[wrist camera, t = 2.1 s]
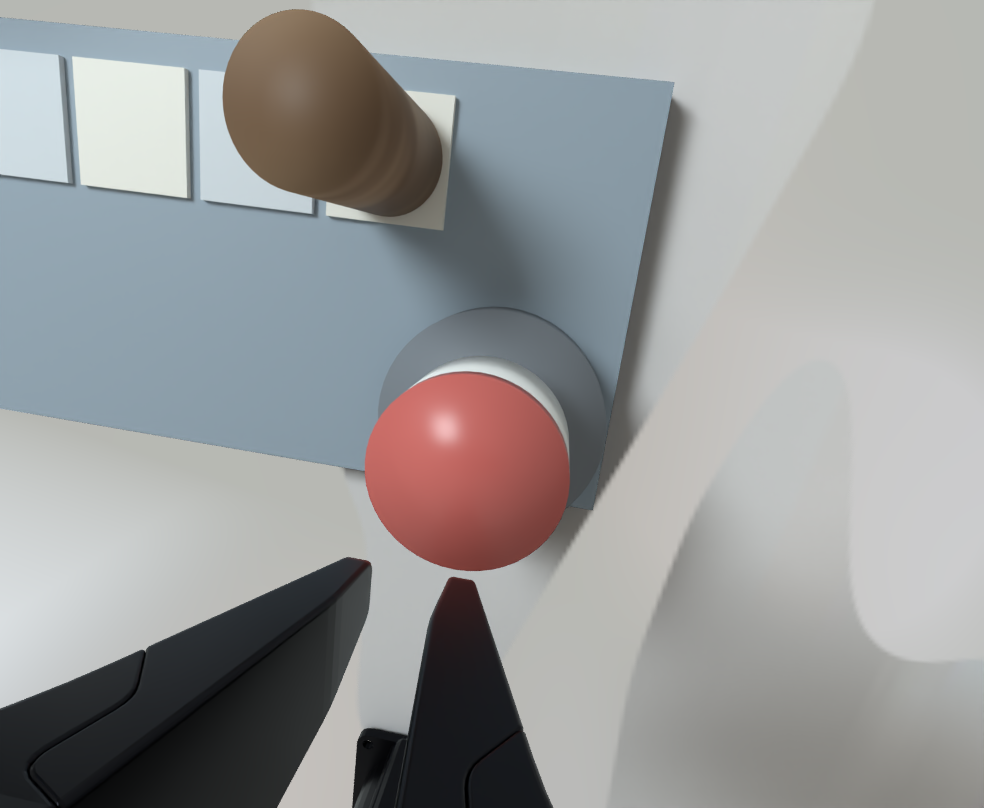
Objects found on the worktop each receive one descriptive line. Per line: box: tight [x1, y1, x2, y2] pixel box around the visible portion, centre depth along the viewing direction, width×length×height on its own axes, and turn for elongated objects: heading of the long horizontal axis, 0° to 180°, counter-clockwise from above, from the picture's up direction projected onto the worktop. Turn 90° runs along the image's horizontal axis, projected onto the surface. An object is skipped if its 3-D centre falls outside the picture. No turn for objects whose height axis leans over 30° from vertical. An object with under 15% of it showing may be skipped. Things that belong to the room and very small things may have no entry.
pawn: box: [222, 9, 443, 217], centre depth 15 cm, size 4×4×6 cm
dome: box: [365, 356, 570, 571], centre depth 15 cm, size 5×5×3 cm
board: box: [0, 17, 674, 510], centre depth 19 cm, size 15×24×2 cm, turn 83°
